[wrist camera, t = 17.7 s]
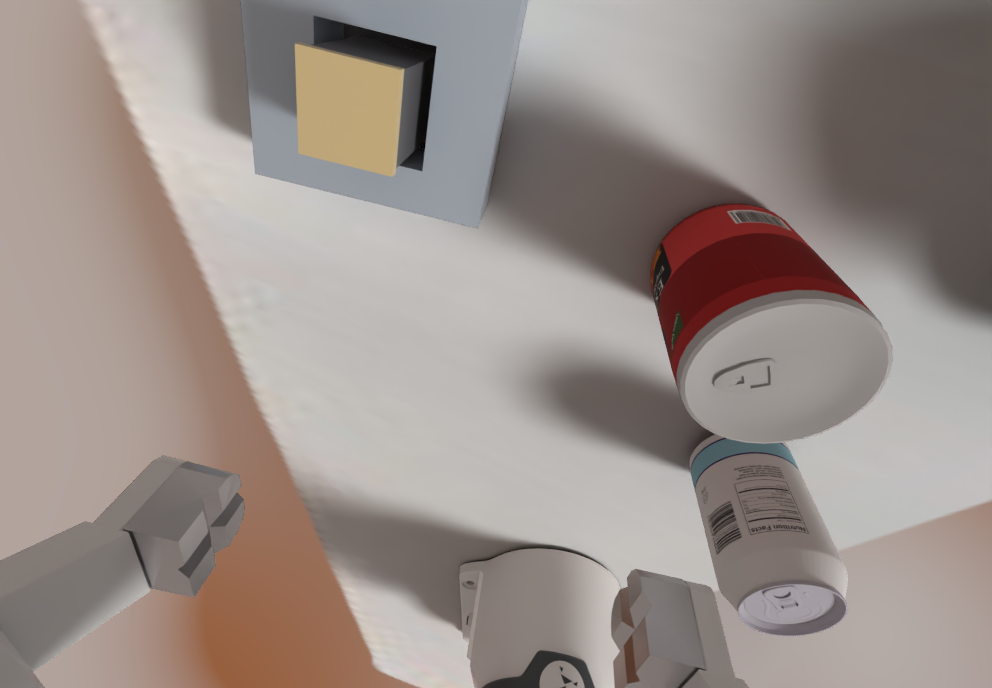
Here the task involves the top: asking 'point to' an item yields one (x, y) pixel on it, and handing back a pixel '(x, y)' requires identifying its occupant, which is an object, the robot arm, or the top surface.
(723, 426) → the canned food
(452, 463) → the top surface
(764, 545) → the beverage can
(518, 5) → the socket block
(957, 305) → the top surface
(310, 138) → the plug
